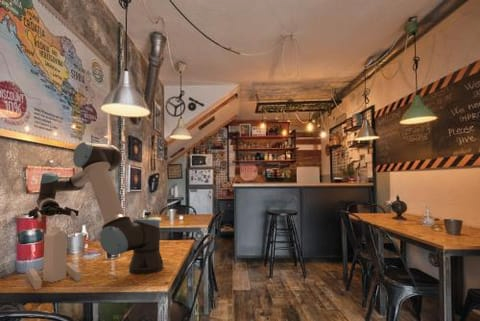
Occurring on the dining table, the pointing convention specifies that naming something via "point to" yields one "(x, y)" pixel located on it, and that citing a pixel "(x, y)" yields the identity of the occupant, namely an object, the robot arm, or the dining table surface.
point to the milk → (55, 255)
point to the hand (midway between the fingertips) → (58, 218)
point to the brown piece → (37, 279)
